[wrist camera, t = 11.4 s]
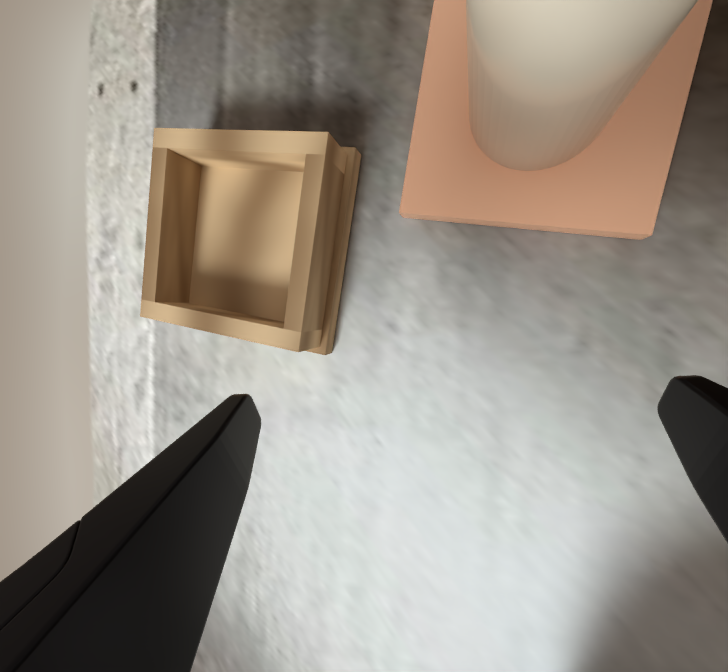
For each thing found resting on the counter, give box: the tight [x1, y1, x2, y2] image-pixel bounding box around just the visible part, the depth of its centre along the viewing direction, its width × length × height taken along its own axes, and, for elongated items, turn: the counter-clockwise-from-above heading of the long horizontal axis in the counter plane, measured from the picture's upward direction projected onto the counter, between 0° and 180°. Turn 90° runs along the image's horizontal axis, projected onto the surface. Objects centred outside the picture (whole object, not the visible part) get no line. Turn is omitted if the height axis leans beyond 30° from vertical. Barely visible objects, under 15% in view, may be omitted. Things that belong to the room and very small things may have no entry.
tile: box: [399, 0, 713, 240], centre depth 16 cm, size 11×11×1 cm
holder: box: [140, 128, 361, 355], centre depth 20 cm, size 11×11×4 cm
